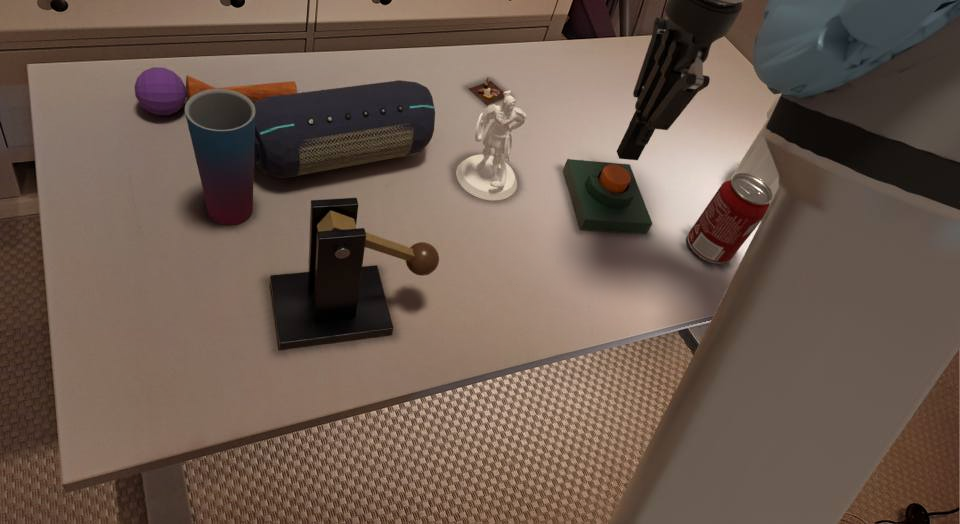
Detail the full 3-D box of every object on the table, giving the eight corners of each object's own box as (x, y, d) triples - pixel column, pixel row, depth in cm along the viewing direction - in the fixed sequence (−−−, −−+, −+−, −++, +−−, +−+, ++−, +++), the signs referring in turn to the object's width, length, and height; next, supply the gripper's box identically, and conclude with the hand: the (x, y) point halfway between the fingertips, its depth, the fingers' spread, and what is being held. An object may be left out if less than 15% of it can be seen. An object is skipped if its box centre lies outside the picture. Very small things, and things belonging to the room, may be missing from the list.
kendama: (301, 95, 89) (135, 92, 80) (296, 123, 93) (138, 124, 84) (293, 62, 91) (131, 56, 82) (288, 91, 96) (134, 89, 87)
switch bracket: (376, 271, 78) (390, 180, 66) (392, 334, 72) (410, 248, 61) (270, 281, 73) (266, 187, 62) (279, 349, 68) (277, 260, 57)
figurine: (445, 182, 90) (468, 92, 79) (470, 148, 96) (494, 59, 84) (504, 209, 89) (535, 122, 78) (525, 173, 95) (557, 87, 84)
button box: (646, 234, 92) (658, 214, 89) (580, 230, 90) (590, 210, 87) (624, 174, 100) (634, 155, 97) (562, 169, 97) (571, 149, 94)
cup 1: (268, 223, 79) (264, 124, 67) (209, 237, 75) (195, 136, 64) (249, 184, 82) (243, 84, 71) (192, 196, 79) (176, 93, 67)
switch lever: (420, 260, 74) (440, 240, 72) (428, 285, 72) (449, 266, 70) (311, 223, 64) (332, 200, 62) (317, 251, 62) (339, 228, 60)
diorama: (474, 89, 105) (477, 78, 103) (490, 83, 107) (493, 72, 105) (486, 100, 104) (489, 89, 102) (503, 94, 106) (506, 83, 104)
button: (629, 194, 91) (634, 185, 90) (602, 192, 90) (607, 183, 89) (622, 174, 94) (626, 165, 92) (596, 172, 93) (600, 163, 91)
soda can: (710, 273, 90) (757, 213, 81) (676, 239, 93) (717, 178, 84) (739, 256, 93) (787, 197, 84) (705, 224, 96) (747, 164, 87)
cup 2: (797, 226, 101) (872, 139, 88) (729, 212, 99) (795, 121, 86) (778, 177, 108) (845, 89, 95) (715, 163, 107) (774, 73, 94)
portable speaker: (259, 200, 80) (256, 137, 73) (236, 147, 85) (231, 83, 78) (440, 165, 92) (453, 107, 84) (410, 120, 97) (420, 61, 89)
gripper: (765, 27, 67) (666, 192, 85) (720, -35, 75) (639, 127, 93) (701, 17, 65) (613, 187, 83) (662, -46, 73) (589, 122, 91)
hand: (627, 155), depth 88 cm, fingers closed
